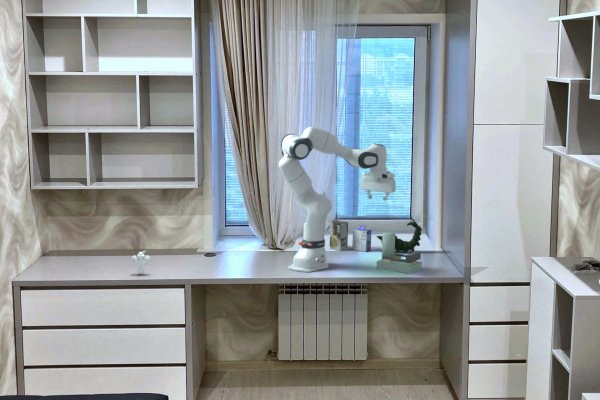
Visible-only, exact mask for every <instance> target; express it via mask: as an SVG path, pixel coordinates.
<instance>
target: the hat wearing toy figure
mask: <svg viewBox="0 0 600 400" xmlns="http://www.w3.org/2000/svg"><path fill="white" fill-rule="evenodd" d="M146 252H147V249H146V250H142V251H140V252H138V253H137V255H132V257H131V260H132V261H134V262H133V264H132V267H133V268H134V267H135V266H136V264H137V273H136V274H137V275H141V274H142V275H145V274H146V270H145V267H146V268H149V266H150V264H149V262H148V261H150V256H149V255H145V253H146Z"/></svg>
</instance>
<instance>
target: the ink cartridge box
mask: <svg viewBox="0 0 600 400" xmlns="http://www.w3.org/2000/svg"><path fill="white" fill-rule="evenodd" d="M351 247H352V250H354V251H360V252H369V251H370V252H371V251H372V229H369V228H367V225H364V224H360V227H356V228H353V229H352V244H351Z"/></svg>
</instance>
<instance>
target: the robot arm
mask: <svg viewBox="0 0 600 400" xmlns="http://www.w3.org/2000/svg"><path fill="white" fill-rule="evenodd" d="M280 141H281V142H280V148H281V155H282V156H283V157H282V158H281V159H280V160H279V161H278V169H279V171H280V172H281V175H282V177H283V178H284V181H286V183H287V184H288V186H289V187H290V189H291V191H292V192H293V194H294V196H295V198H296V204H297V206H298V207H299V208H300V209H302V211H304V212H307V218H306V221H305V222H304V224H303V238H302V240H299V241H298V243H297V244H298V246H301V247H300V248H299V249H298V250H297V252H296V254H295V255H294V256H293V259H292V264H291V265H290V264H289V265H288V268H287V269H289V270H292V271H296V272H304V273H311V272H314V271H320V270H324V269H328V268H329V264H328V259H327V257H328V256H327V251H326V248H325V246H326V240H325V225H326V220H327V217H328V214H329V213H330V212H331V210H332V207H333V203H332V201H331V200H330V198H328V197H327V196H326V195H324V194H321V193H319V192H317V191H315V189H314V187H313V184H312V179H311V177H310V176H309V175H308V173H307V172H306V170H305V168H304V167H303V166H302V164H301V162H300V160H301V161H302V160H304V159H306V158H308V156H309V155H310V153H311V152H312V150H315V151H318V152H319V153H320V152H321V153H323V154H326V155H335V156H338V157H339V158H341V159H344V160H345V161H346V163H348V166H349V165H350V166H351V167H354V168H360V169H363V170H366V169H369V172H363V173H362V174H361V176H360V178H361V179H360V186H359V187H360V189H361V190H364V191H365V192H366V195H367V198H368V199H370V200H371V199H372V198H373V195H372V194H371V192H373V191H374V192H378V193H379V192H380V193H381V192H382V193H384V194H385V196H382V197H383V198H382V199H383V201H385V202H386V201H388V196H389V195H390V194H392V193H395V192H396V189H397V184H396V183H397V182H396V180H395V178H396V177H395V176H396V174H395V173H394V172H391V171H388V170H387V161H388V154H387V151H388V150H387V148H386V146H385V145H384V144H380V143H371V145H370V146H368V147H366V148H365V149H360V148H357V147H356V148H355V147H353V148H351V147H348V146H346V145H344V144H341V143H339V138H338V136H336V135H335V134H333V133H331V132H329V131H327V130H325V129H322V128H319V127H315V126H307V127H306V128H305V129H304V130H303V133H302V134H301V135H297V134H294V133H288V134H285V135H284V136H283V137H282V138H281V140H280Z"/></svg>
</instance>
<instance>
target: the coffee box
mask: <svg viewBox="0 0 600 400" xmlns="http://www.w3.org/2000/svg"><path fill="white" fill-rule="evenodd" d="M348 238H349V222H348V221H344V220H338V219H337V220H331V221H329V249H330V250H335V251H340V252H342V251H347V250H348V245H349V244H348V243H349V242H348Z"/></svg>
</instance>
